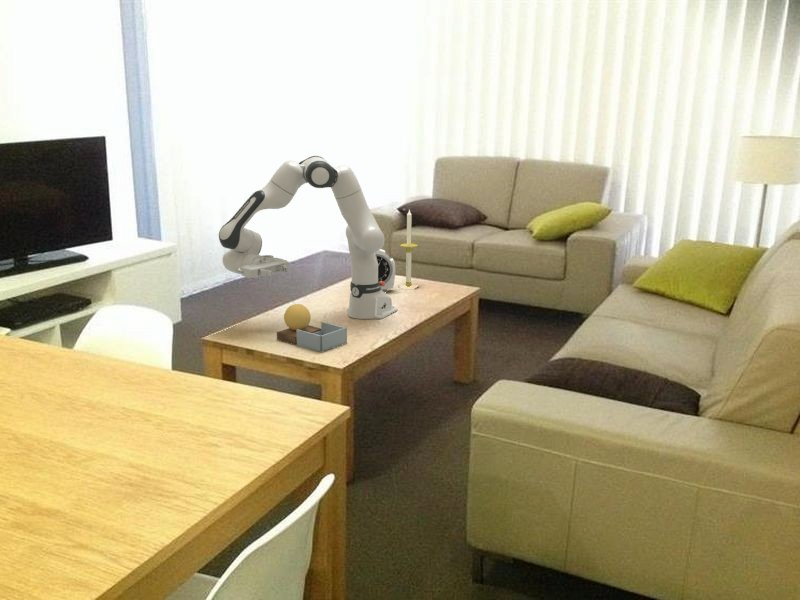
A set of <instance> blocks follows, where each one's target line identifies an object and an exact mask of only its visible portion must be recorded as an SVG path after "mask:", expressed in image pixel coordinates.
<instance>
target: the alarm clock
mask: <svg viewBox="0 0 800 600" xmlns="http://www.w3.org/2000/svg"><path fill="white" fill-rule="evenodd" d="M375 255H376V259H377V261H378V282H380V281H382V282H385V286H380V287H381V290H382V291H383V292H387V293H388V290H390V289H394V284H395V278H396V263H395V260H394V258H393V257H392V258H391V257H390V256H389V254H388V253H386V250H385V249H382V248H381V249H380V250H379V251H376V252H375Z"/></svg>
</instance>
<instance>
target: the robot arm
mask: <svg viewBox="0 0 800 600" xmlns="http://www.w3.org/2000/svg"><path fill="white" fill-rule="evenodd" d="M307 183H308V185H310V186H311V187H313V188H315V189H325V188H327V189H328V188H330V189H331V191H332V193H333V196H334V198H335V201H336V203H337V206H338V208H339V211H340V213H341V215H342V218H343V219H344V220H345V222H346V224H347V226H346V228H345V237H346V239H347V245H348V253H349V257H350V266H351V268H350V270H351V271H350V273H351V281H350V285H349V286H350V293H349V303H348V308H346V309H347V310H346V311H347V316H348V317H350V318H353V319H358V320H372V319H373V320H376V319H377V320H381V319H384V318H386V317H388V316H390V315H392V314H394V313H396V312H397V311H398V308H397V307H396V306H393V303H392V298H391V296H390V295H389V294H388V293H385V292H383V291H382V290H381V287H380V286H385V282H382V281H380V282H378V261H377V259H376V255H375V252H376V251H379V250H380V249H382V248H383V247H384V245H385V241H386V240H385V239H386V238H385V235H384V233H383V231H382V230H381V227H380V226H379V224H378V222H377V220H376V218H375V216H374V215H373V212H372V210H371V209H370V208H369V205H368V203H367V201H366V198H365V195H364V191H363V189H362V187H361V185H360V183H359V180H358V178H357V176H356V175H355V173H354V171H353V169H352V168H351V167H350V166H348V165H345V164H344V165H342V164H341V165H338V166H336V167H335V166H332V165H331V164H330V163H329V162H328V161H327V160H326V159H325V158H324V157H322V156H319V155H312V156H309V157H307V158H305V159H303V160H301V161H300V162H298V161H295V160H286V161H284V162H283V163H282V164H281V165H280V167H279V168H278V169H277V170H276V171H275V172H274V174H273V175H272V176H271V178H270V180H269V181H268V182H267V184H265V186H263V187H262V188H261V189H260V190H257V191H256V190H255V192H253V193H252V194H251V195H250V196H249V197H248V198H247V200H246V201H245V202H244V203H243V204H242V206H241V207H240V208H239V209H238V210H237V211H236V213H235V214H234V215H233V216H232V217H231V218H230V219H229V220H228V221H226V223H225V224H223V225H222V226H221V227H220V230H219V232H218V240H219V243H220V245H221V246H222V247H223V248H225V249H228V251H226V252H224V254H223V255H222V264H223V266H224V268H225V269H226V270H228V271H229V272H230V273H234V274H237V275H241V276H242V277H245V278H248V279H255V278H256V279H259V278H261V277H264V276H265V277H266V276H268V277H271V276H273V275H274V274H278V273H281V272H282V273H289V272H290V262H289V261H288V260H286V259H283V258H279V257H274V255H270V254H266V255H263V254H262V255H260V253H261V250H262V246H263V239H262V236H261V235H260V234H259V233H258V232H256V231H254V230H251V229H248V228H245V226H247V224H248V223H249V222H250V221H251V220H252V218H253V217H254V216H255V215H256V214H257V213H258V212H260V211H264V210H270V209H271V210H279V209H283V208H285V207H287V206H288V205H289V204H290V203H291V201H292V200H293V199H294V197H295V195H296V193H297V192H298V190H299V188H301V187H302V186H303V185H305V184H307ZM395 311H396V312H395ZM393 312H394V313H393ZM391 313H392V314H391Z"/></svg>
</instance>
